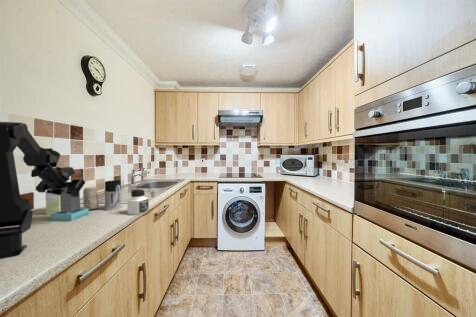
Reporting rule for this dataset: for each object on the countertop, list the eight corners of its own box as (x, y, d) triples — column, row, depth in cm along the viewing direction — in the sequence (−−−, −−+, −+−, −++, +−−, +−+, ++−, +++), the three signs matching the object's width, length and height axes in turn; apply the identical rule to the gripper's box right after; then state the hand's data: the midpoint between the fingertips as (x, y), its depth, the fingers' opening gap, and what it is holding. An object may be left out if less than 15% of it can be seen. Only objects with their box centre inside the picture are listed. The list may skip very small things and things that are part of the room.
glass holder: (119, 205, 117) (118, 179, 117) (128, 209, 108) (128, 182, 107) (101, 208, 110) (101, 181, 110) (110, 213, 101) (109, 183, 101)
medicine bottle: (139, 215, 98) (139, 190, 98) (127, 214, 100) (126, 190, 100) (148, 211, 105) (148, 188, 105) (137, 210, 107) (136, 188, 107)
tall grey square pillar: (70, 212, 91) (69, 183, 91) (60, 212, 92) (59, 184, 92) (80, 209, 96) (79, 182, 96) (70, 209, 97) (69, 182, 97)
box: (57, 209, 108) (56, 187, 108) (70, 208, 110) (69, 187, 110) (45, 215, 98) (44, 191, 98) (59, 214, 100) (59, 190, 100)
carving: (92, 207, 112) (91, 186, 112) (101, 208, 110) (101, 187, 110) (80, 210, 106) (79, 188, 106) (89, 211, 104) (89, 188, 104)
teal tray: (71, 221, 89) (71, 214, 89) (50, 220, 90) (50, 214, 90) (88, 214, 99) (88, 208, 99) (69, 214, 99) (69, 208, 99)
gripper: (81, 161, 89) (100, 182, 101) (42, 161, 90) (64, 182, 101) (66, 181, 82) (88, 201, 93) (22, 181, 82) (49, 201, 94)
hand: (72, 195), depth 95 cm, fingers closed on tall grey square pillar, 5 cm apart
